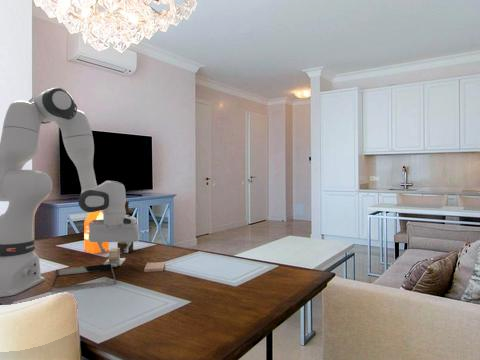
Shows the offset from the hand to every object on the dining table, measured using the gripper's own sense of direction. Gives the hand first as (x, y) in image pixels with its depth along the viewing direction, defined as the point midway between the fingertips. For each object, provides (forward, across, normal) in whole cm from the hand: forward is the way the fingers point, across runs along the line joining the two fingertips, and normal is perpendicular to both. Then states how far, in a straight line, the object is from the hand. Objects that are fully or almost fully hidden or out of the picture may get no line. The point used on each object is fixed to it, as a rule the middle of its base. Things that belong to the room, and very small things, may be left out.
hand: (114, 252), depth 142 cm
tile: (+4, +18, -4) cm, 19 cm away
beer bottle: (+4, -1, +23) cm, 24 cm away
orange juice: (+4, -15, +25) cm, 29 cm away
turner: (+4, 0, -1) cm, 4 cm away
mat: (+4, 0, +1) cm, 5 cm away
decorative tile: (+6, -5, -21) cm, 22 cm away
